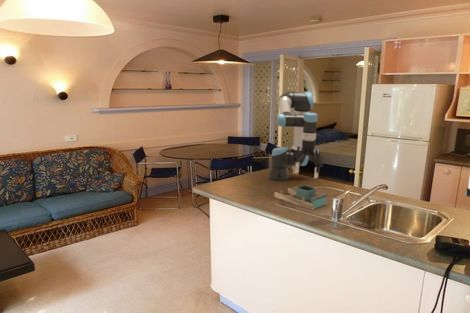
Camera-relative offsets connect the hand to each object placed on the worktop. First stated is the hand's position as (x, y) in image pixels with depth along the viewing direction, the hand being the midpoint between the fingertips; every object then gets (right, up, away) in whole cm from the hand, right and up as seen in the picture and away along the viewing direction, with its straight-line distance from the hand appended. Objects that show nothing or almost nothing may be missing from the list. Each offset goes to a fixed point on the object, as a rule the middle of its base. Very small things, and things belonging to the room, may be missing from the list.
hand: (306, 175), depth 198 cm
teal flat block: (+6, -18, -4) cm, 19 cm away
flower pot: (0, -16, +3) cm, 17 cm away
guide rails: (-3, -16, +5) cm, 17 cm away
